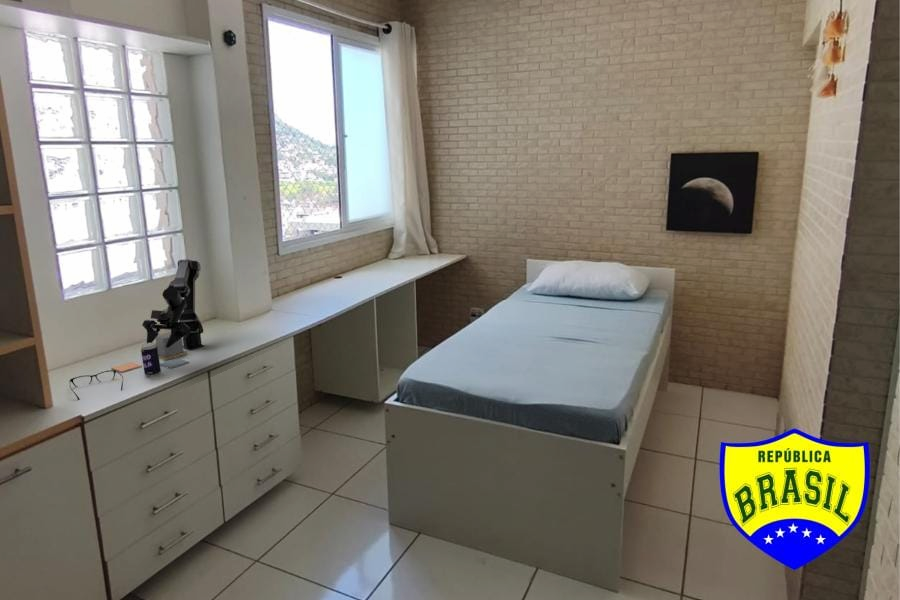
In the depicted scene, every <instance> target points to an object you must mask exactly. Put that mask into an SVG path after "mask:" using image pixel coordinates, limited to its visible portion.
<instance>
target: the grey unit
mask: <svg viewBox="0 0 900 600" xmlns="http://www.w3.org/2000/svg"><path fill="white" fill-rule="evenodd" d="M170 335H171V331H170V332H167V333H164V334H160V335H159V334H158V336H157V337H156V338H155V339H154V340H155V343H156V345H157V347H158V354H159V360H161V359H162V361H164V360H166V361H169V360H168V359H170V360H173V359H176V358H179V357H178V356H180V357H183V356H185V355H188V351H186V350H184V348H183V337H182V338H181V339H179V340H178V341H177V342H175V343H174V344H173V345H171V346H170V347H169V348H167V347H166V344H167V342H168V339H169V337H170ZM182 355H183V356H182ZM175 357H176V358H175ZM172 358H173V359H172Z"/></svg>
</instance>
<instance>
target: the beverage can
mask: <svg viewBox="0 0 900 600" xmlns="http://www.w3.org/2000/svg"><path fill="white" fill-rule="evenodd" d="M140 353H141V359H142V368H143V373H144V375H145V376H146V377H154V375H156V376H158V375H160V373H161V372H162V371H161V365H160V363H161V362H160V359H159V354H158V347H157V345H156V342H152V343H147V342H145V343H143V344H142V345H141V346H140ZM157 374H158V375H157Z"/></svg>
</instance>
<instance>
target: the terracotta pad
mask: <svg viewBox="0 0 900 600" xmlns="http://www.w3.org/2000/svg"><path fill="white" fill-rule="evenodd" d="M140 368H143V364H142V365H141V364H139V363H136V362H133V361H130V362H126V363H123V364H119V365H116V366H111V370H116V371H118V372H119V373H120V374H122V373H125V372H129V371H133V370H136V369H140ZM118 372H117V373H118Z"/></svg>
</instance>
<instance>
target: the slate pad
mask: <svg viewBox="0 0 900 600" xmlns="http://www.w3.org/2000/svg"><path fill="white" fill-rule="evenodd" d="M186 363H188V364H189V363H190V361H189V360H185V359H183V358H179V357H176V358H173V359H170V360H166V361H164V362H160V366H161V365H162V366H161V367H163V366H165V367H164V368H166V367H168V368H167V369H169V368H172V369H174V368H173V367H175V368H177V367H176V366H178V367H181V366H184V365H187V364H186ZM183 364H184V365H183ZM180 365H181V366H180Z"/></svg>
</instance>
